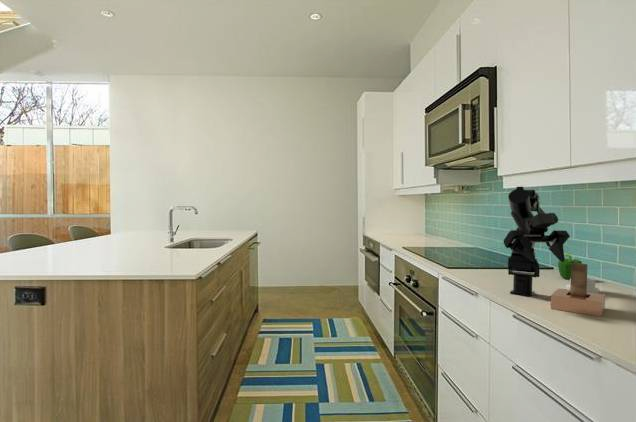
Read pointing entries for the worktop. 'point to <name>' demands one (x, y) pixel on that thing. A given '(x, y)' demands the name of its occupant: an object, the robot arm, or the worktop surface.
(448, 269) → the worktop surface
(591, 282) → the mechanical component
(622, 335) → the worktop surface
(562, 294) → the hollow square frame
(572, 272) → the pin
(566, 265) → the bell pepper
